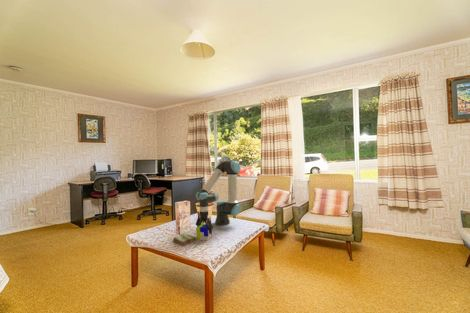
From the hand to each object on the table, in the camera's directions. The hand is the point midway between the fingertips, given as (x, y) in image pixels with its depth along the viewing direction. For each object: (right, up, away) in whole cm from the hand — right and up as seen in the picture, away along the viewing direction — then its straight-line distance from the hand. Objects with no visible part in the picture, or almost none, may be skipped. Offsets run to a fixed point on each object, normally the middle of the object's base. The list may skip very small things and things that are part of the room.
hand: (204, 235), depth 186 cm
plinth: (-16, -2, -6) cm, 17 cm away
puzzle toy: (0, -2, 0) cm, 2 cm away
